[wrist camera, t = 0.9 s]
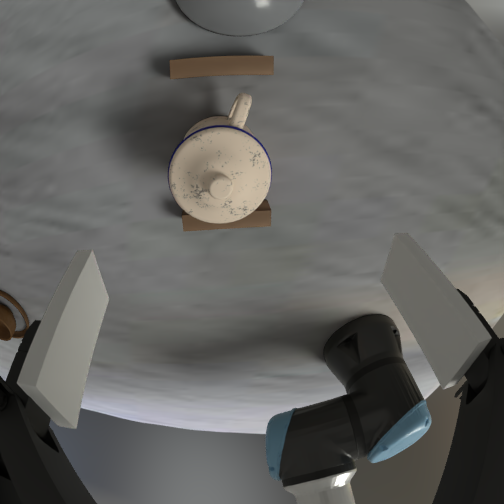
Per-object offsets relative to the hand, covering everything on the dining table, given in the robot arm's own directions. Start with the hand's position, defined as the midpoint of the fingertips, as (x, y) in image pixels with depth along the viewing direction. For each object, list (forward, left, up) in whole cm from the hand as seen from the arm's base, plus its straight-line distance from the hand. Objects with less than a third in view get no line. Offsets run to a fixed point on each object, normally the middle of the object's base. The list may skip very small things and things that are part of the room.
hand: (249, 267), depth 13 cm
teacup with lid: (0, +1, -24) cm, 24 cm away
